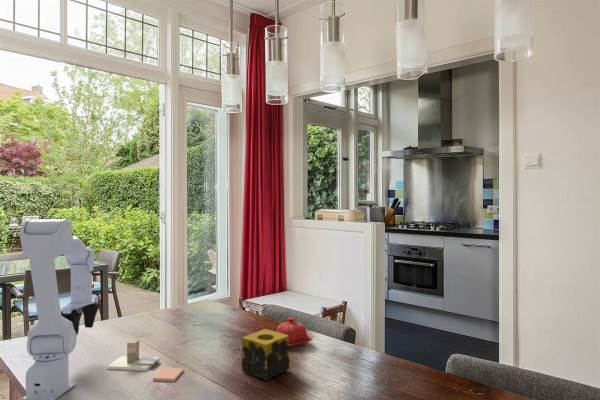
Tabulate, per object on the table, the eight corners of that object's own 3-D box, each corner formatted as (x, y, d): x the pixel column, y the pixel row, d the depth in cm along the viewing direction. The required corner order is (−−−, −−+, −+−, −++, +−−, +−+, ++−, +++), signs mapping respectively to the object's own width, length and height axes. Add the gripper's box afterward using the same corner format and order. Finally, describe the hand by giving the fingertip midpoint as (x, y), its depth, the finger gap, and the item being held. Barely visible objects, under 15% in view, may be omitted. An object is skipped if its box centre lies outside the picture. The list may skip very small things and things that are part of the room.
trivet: (147, 370, 119) (147, 367, 119) (107, 369, 120) (107, 366, 120) (158, 360, 127) (158, 357, 127) (121, 359, 128) (121, 356, 128)
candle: (265, 360, 126) (265, 328, 126) (290, 369, 120) (290, 334, 120) (240, 371, 118) (240, 336, 118) (266, 381, 112) (265, 344, 112)
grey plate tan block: (153, 365, 120) (153, 344, 120) (124, 364, 121) (124, 344, 121) (160, 358, 125) (160, 339, 125) (133, 358, 126) (133, 338, 126)
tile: (152, 383, 112) (174, 383, 111) (152, 378, 112) (174, 378, 111) (163, 372, 119) (183, 373, 118) (163, 367, 119) (183, 368, 118)
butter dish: (269, 339, 146) (269, 315, 146) (297, 334, 152) (297, 311, 152) (284, 350, 136) (284, 324, 136) (314, 343, 142) (313, 319, 142)
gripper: (79, 291, 118) (79, 339, 118) (107, 281, 133) (107, 324, 132) (55, 291, 119) (56, 338, 119) (86, 281, 133) (86, 323, 133)
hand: (81, 331), depth 126 cm, fingers open, 7 cm apart
